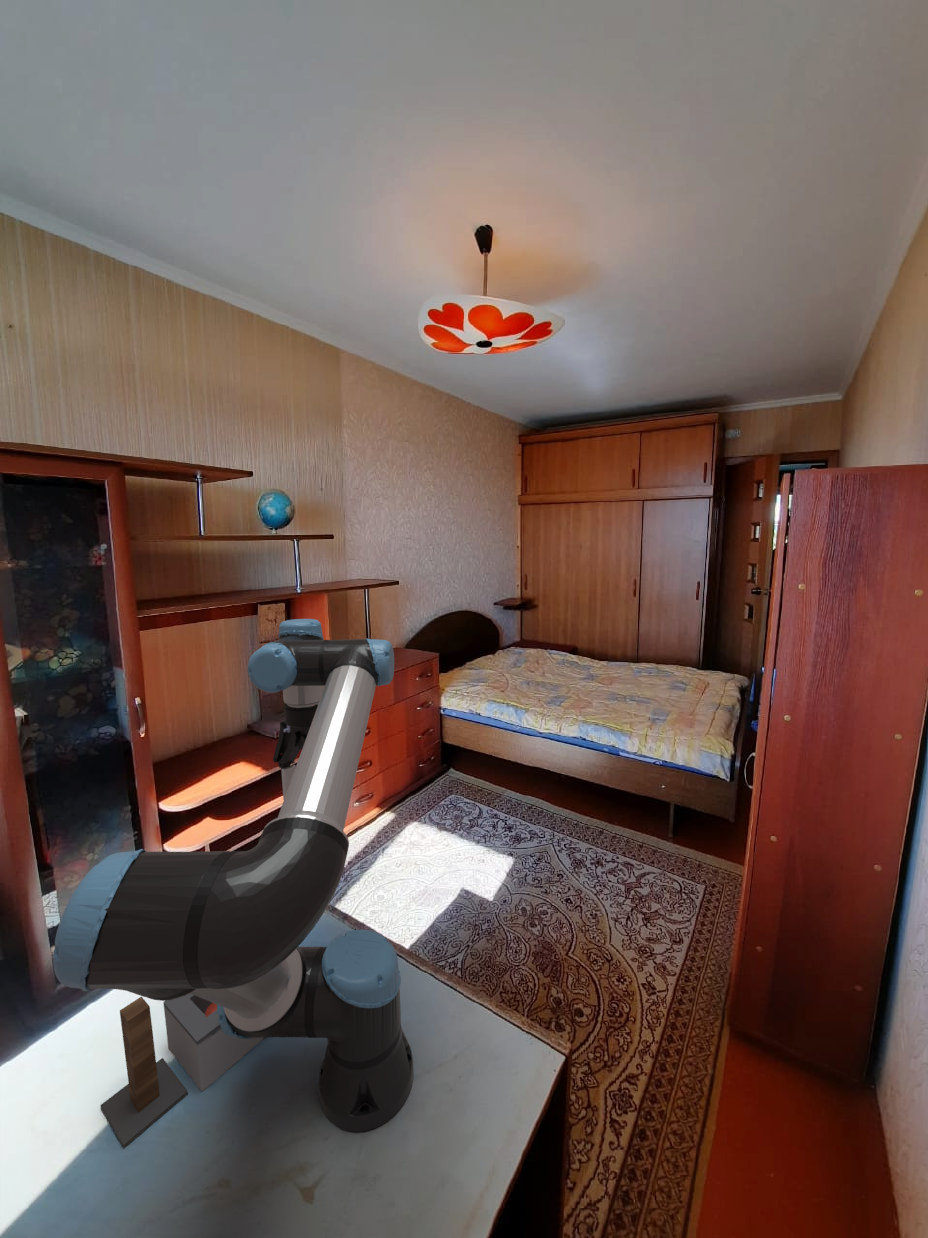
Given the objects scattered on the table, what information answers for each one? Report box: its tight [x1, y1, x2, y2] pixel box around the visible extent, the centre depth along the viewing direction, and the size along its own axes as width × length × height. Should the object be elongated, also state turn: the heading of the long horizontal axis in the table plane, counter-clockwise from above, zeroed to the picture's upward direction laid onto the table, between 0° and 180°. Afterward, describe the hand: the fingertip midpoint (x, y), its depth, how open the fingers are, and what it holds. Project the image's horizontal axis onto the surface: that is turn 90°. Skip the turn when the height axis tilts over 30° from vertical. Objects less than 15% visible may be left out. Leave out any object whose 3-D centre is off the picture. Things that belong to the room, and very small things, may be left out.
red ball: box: [205, 1003, 217, 1017], centre depth 87 cm, size 4×4×4 cm
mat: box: [100, 1057, 189, 1149], centre depth 78 cm, size 9×9×1 cm
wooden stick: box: [119, 996, 160, 1113], centre depth 77 cm, size 3×3×16 cm
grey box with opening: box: [162, 994, 266, 1092], centre depth 87 cm, size 12×12×9 cm
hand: (311, 808), depth 95 cm, fingers open, 13 cm apart
